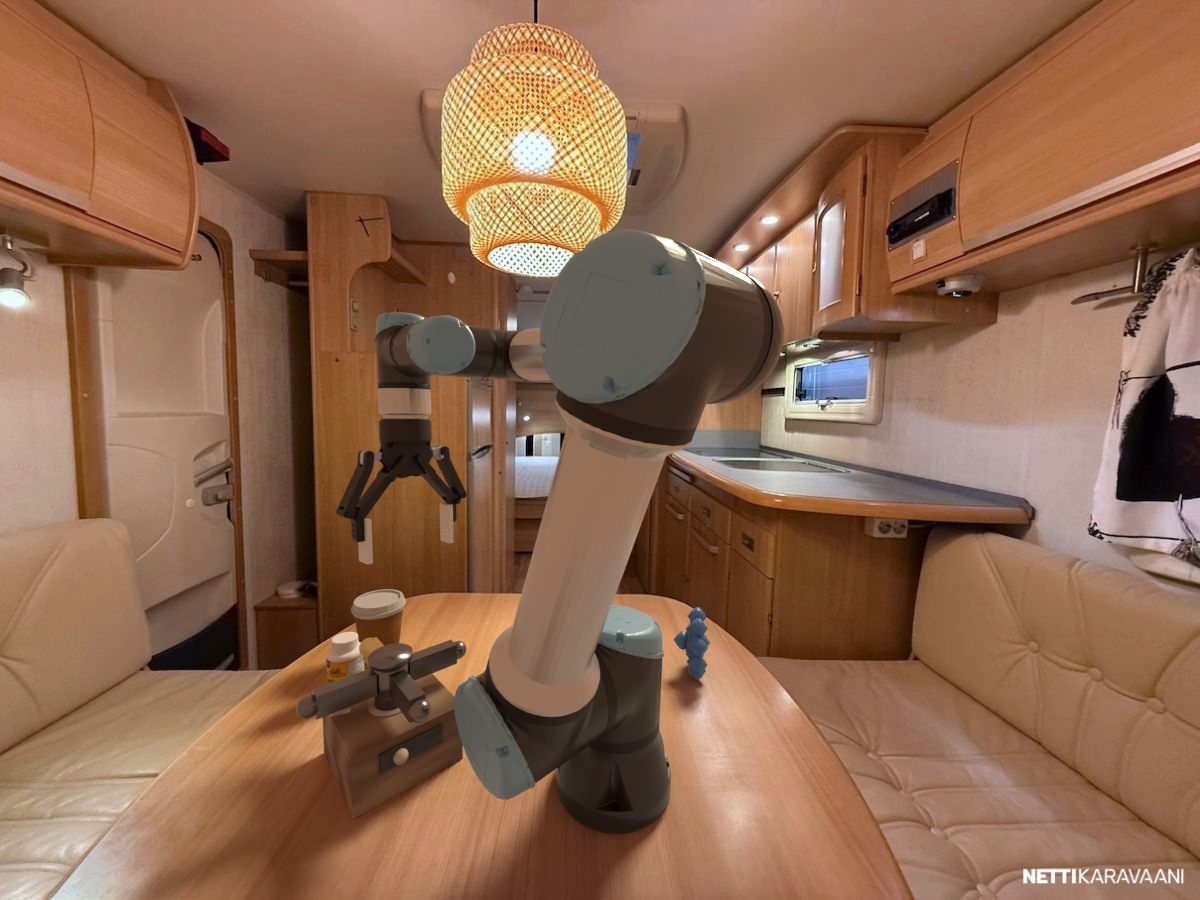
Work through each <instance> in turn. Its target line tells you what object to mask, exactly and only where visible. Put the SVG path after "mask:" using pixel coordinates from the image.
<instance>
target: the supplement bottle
mask: <svg viewBox="0 0 1200 900" xmlns="http://www.w3.org/2000/svg"><path fill="white" fill-rule="evenodd" d="M359 646H360V642H359V640H358V634H357V632H355V631H344V632H341V633H338V634H337V635H334V636H333V637H332V638H331V640H330V648H329V649H328V650H327V651H326V655H325V656H326V657H325V658H326V659H325V662H326V666H325V667H326V684H328V683H331V682H334V681H337V680H339V679H342V678H345V677H348V676H351V675H353V674H356V673H359V672H362V671H365V664H364V661H363V655H362V654H361V653H360V651H359Z"/></svg>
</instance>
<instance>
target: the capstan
mask: <svg viewBox="0 0 1200 900" xmlns="http://www.w3.org/2000/svg"><path fill="white" fill-rule="evenodd" d="M413 650H414V649H413V647H412V646H411V645H409V644H407V643H400V642H399V643H395V644H389V645H385V646H384V645H383V644H382V643H381V642H380V640H379V639H378V638H377V637H375V638H366V639H364V640H363V641H362V642H361V643H360V646H359V651H360V653H361V654H362V655H363V661H364V662H365V664H366V665H365V664H364V665H365V666H367V667H368V668H367V669H364V671H362V672H359V673H356V674H353V675H351V676H348V677H345V678H342V679H339V680H337V681H334V682H331V683H328V684H327V683H326V684H323V685H320V686H317V687H315V688H312V689H311V694H307V695H305V696H303V697H302V698H301V699H300V700H299V701H298V702H297V704H296V707H295V711H296V715H297V716H298V718H301V719H303V720H304V719H306V720H307V719H312V717H315V720H320V719H323V717H325V716H328V715H330V714H333V713H335V712H338V711H340V710H343V709H345V708H347V707H350V706H352V705H355V704H357V703H360V702H362V701H365V700H367V699H370V698H372V697H374V706H375V708H376V709H378V710H381V711H390V710H394V709H397V708H399V709H400V711H401V712H402V714H403V715H404V716H405V718H406V719H407V720H408V722H409V723H412V722H414V723H421V722H423V721H425V720H426V719H427V718H428V717H429V715H430V712H431V705H430V703H429V702H428V701H427V700H426V693H425V692H424V691H423V690H422V689H421V688H420V687H419V685H418V684H417V683H416V682H415V680H417V679H420V678H422V677H425V676H427V675H430V674H435V673H437V672H440V671H442V670H445V669H447V668H449V667H451V666H454V665H457V664H458V660H460V659H462V658H463V657H464V656H465V655H466V653H467V645H466V643H465V642H463V641H461V640H456V641H454V640H453V639H448V640H446V641H443V642H441V643H437V644H435V645H432V646H428V647H426V648H424V649H420V650H417V651H415V652H414V651H413Z"/></svg>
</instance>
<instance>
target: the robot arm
mask: <svg viewBox="0 0 1200 900" xmlns="http://www.w3.org/2000/svg"><path fill="white" fill-rule="evenodd" d="M375 322H376V323H375V334H374V342H375V347H376V348H375V349H376V350H375V351H376V373H377V401H378V402H377V403H378V414H379V415H380V416H382V418H380V419H379V421H378V435H379V444H380V447H379V450H378V451H372V450H364V449H361V450H359V451H358V453H357V460H356V461H357V463H356V467H355V469H354V471H353V474H352V476H351V477H350V480H349V482H348V485H347V487H346V489H345V490H344V491H345V492H344V493H343V495H342V498H341V499H340V502H339V504H338V507H337V508H336V511H335V514H336V516H338V517H340V518H341V517H342V518H345V519H349V520H350V522H351V527H350V528H351V539H352V541H353V542H355V543H357V544H358V546H357V547H358V548H357V549H358V562H360V563H363V564H365V565H366V566H367V565H372V564H374V554H373V552H374V550H373V526H372V523H373V522H372V519H370V518H367V516H368V515H369V514H370V512H371V511H372V509H373V508H374V506H375V505H376V504H377V503H378V501H379V500H380V498H382V496H383V495H384V493H385V492H386V490H387V489H388V488H389V486H390V485H391V483H393V482H395V480H396V479H397V478H398V479H405V478H409V477H414V478H415V477H420V476H421V477H422V478H423V479H424V480H425V482H427V483H428V484H429V486H430V487H431V488H432V489H433V490H434V492H436V494H437V495H438V496H439V497H440V498H441V499H442V500H443V501H444V502H441V503H439V534H440V536H439V537H440V542H444V543H447V544H454V542H455V541H454V523H455V522H457V518H458V517H457V514H458V513H457V505H459V504H460V503H461V501H462V500H461V499H465V498H467V495H468V494H467V491H466V489H465V487H464V484H463V483H462V481H461V479H460V477H459V474H458V472H457V471H456V469H455V466H454V464H453V462H452V459H451V454H450V453H451V452H450V448H449V447H448V446H446V445H436V446H434V447H432V445H431V443H432V440H433V431H432V430H433V428H432V421H431V419H430V418H428V416H431V414H432V395H431V392H432V391H431V388H432V387H431V376H441V377H442V376H444V377H457V378H472V379H473V378H474V379H489V380H491V379H493V380H502V381H503V380H504V381H513V382H514V381H516V382H524V383H526V382H527V383H528V382H537V381H551V383H552V384H553V385H554V386H555V387H556V388H557V391H556V395H555V398H554V404H555V406H556V407H555V408H557V410H558V411H559V413H560V415H561V416H562V418H563V420H564V421H565V423H566V424H567V425H566V430H565V433H564V437H563V441H562V443H561V449H560V451H559V455H558V459H557V462H556V467H555V470H554V473H553V477H552V481H551V484H550V488H549V492H548V495H547V499H546V504H545V507H544V511H543V514H542V517H541V520H540V521H541V522H540V526H539V528H538V532H537V536H536V540H535V544H534V547H533V551H532V554H531V559H530V561H529V565H528V570H527V573H526V576H525V581H524V584H523V588H522V591H521V595H520V599H519V602H518V606H517V610H516V613H515V617H514V621H513V624H512V626H509V627H507V628H506V629H505V630H503V632H502V633H500V635H499V636H497V638H496V639H495V641H494V642H493V644H492V646H491V648H490V652H489V655H488V659H487V662H486V668H485V670H484V671H483V672H482V673H480V674H478V675H476V676H474V675H471V676H469V677H468V678H467V679H466V680H464V681H462V683H460V684H459V685H458V686H457V688H456V689H455V693H454V711H455V718H456V723H457V728H458V732H459V735H460V739H461V742H462V745H463V751H464V752H465V755H466V757H467V759H468V762H469V764H470V767H471V768H472V770H473V772H474V773H475V776H476V777H477V779H478V780H479V782H480V783H481V784H482V786H483V787H484V788H485V790H486V791H488V793H489V794H491V795H492V796H494V797H495V798H496V799H499V800H501V801H502V800H504V801H506V800H511V799H513V798H515V797H517V796H519V795H520V794H523V793H524V792H525V791H528V790H531V789H532V790H533V789H534V788H535V787H536V784H537V783H539V782H540V781H541V780H542V779H544V778H546V777H547V776H548V775H549V774H551V773H552V772H555V770H556V790H557V794H558V798H559V800H560V803H561V804H562V806H563V807H564V809H565V810H566V811H567V812H568V814H569V815H570V816H571V817H573V819H575V820H576V821H577V822H578V823H580V824H582V825H584V826H585V827H588V828H590V829H593V830H595V831H599V832H603V833H609V834H623V833H624V834H626V833H631V832H636V831H639V830H642V829H644V828H645V827H647V826H649V825H651V824H652V823H653V822H654V821H656V820H657V819H658V818H659V817H660V816H661V814H663V813H664V811H665V809H666V807H667V805H668V804H669V800H670V798H671V797H670V796H671V790H672V789H671V788H672V787H671V785H672V771H671V765H670V760H669V758H668V755H667V753H666V751H665V746H664V745H665V744H664V741H663V737H662V733H661V730H660V721H661V719H660V718H661V699H662V698H661V697H662V674H663V658H664V655H665V652H664V650H663V647H664V645H663V632H662V629H661V627H660V625H659V623H658V622H657V621H656V620H655V618H653V617H651V616H650V615H649V614H647V613H645V612H643V611H641V610H638V609H636V608H632V607H629V606H625V605H619V604H613V603H614V600H615V598H616V594H617V592H618V590H619V586H620V583H621V581H622V577H623V576H624V572H625V570H626V567H627V565H628V562H629V558H630V557H631V553H632V551H633V548H634V545H635V542H636V539H637V536H638V534H639V531H640V528H641V526H642V523H643V520H644V518H645V515H646V512H647V510H648V507H649V504H650V501H651V499H652V495H653V492H654V490H655V488H656V484H657V482H658V479H659V476H660V473H661V471H662V468H663V466H664V463H665V460H666V458H667V456H669V455H671V454H674V453H676V452H678V451H681V450H683V449H686V448H688V447H689V446H690V445H691V443H692V441H693V438H694V436H695V433H696V431H697V427H698V426H699V423H700V421H701V418H702V415H703V414H704V411H705V408H706V405H713V404H714V405H716V404H725V403H729V402H732V401H736V400H738V399H741V398H743V397H745V396H747V395H749V394H751V393H752V392H754V391H755V390H756V389H757V388H759V387H761V386H762V384H763V383H764V382H765V380H767V379H768V377H769V376H771V374H772V373H773V371H774V369H775V367H776V366H777V364H778V362H779V359H780V357H781V354H782V351H783V346H784V342H785V341H784V339H785V325H784V321H783V315H782V312H781V309H780V307H779V305H778V303H777V301H776V299H775V297H774V296H773V295H772V293H771V292H770V290H769V289H768V288H767V287H766V286H764V285H763V284H762V283H761V282H760V281H758V279H756V278H754V277H752V276H750V275H749V274H746V273H745V272H742V271H740V270H737V269H734V268H732V267H730V266H728V265H726V264H724V263H722V262H721V261H718V260H716V259H714V258H712V257H710V256H708V255H706V254H704V253H703V252H700V251H698V250H696V249H694V248H692V247H690V246H689V245H687V244H685V243H684V242H682V241H676V240H674V239H672V238H670V237H663V236H660V235H657V234H653V233H650V232H647V231H643V230H639V229H638V230H637V229H632V228H631V229H629V228H628V229H627V228H626V229H617V230H613V231H609V232H606V233H604V234H603V233H602V235H599V236H596V237H595V238H593V239H591V240H590V241H589V242H588V243H587V244H586V245H585V246H584V248H583V249H582V250H580V251H577V252H575V253H574V254H573V255H572V256H571V257H570V258H569V260H568V261H567V262H566V263H565V265H563V267H562V269H561V270H560V272H559V273H558V274H557V277H556V278H555V280H554V282H553V284H552V287H550V291H549V293H548V295H547V298H546V301H545V304H544V307H543V311H542V316H541V320H540V327H534V328H526V329H518V330H506V329H505V330H504V329H496V328H489V327H483V326H478V325H471V324H466V323H465V322H463V321H462V320H460V319H459V318H457V317H455V316H452V315H448V314H446V315H445V314H442V315H430V316H429V317H425V316H423V315H420V314H416V313H411V312H403V311H402V312H401V311H392V312H383V313H381V314H379V315H378V316H377V318H376V320H375ZM432 459H434V460H435V461H436V464H437V466H438V468H439V470H440V472H441V473H442V477H443V478H444V480H445V482H444V480H443V479H442V478H441V477H440V476H439V475H438V474H437V471H436V469H435V468H434V467H433V466H432V464H431V463H430V462H431V460H432ZM378 461H379V462H380V463H381V465H382V467H381V468H380V469H379V471H378V472H377V473H376V477H375V479H374V480H373V481H372V482H371V484H370V485H369V486H368V487H367V489H366V490H365V488H366V486H367V483H368V481H369V479H370V476H371V475H372V472H373V469H374V467H375V466H376V465H377V464H378ZM364 490H365V492H364ZM363 492H364V493H363Z"/></svg>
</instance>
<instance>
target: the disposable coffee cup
mask: <svg viewBox="0 0 1200 900" xmlns="http://www.w3.org/2000/svg"><path fill="white" fill-rule="evenodd" d="M406 603H407V600H406V598H405V595H404V593H403V592H402V591H400V590H398V589H392V588H389V589H388V588H384V589H376V590H372V591H368V592H364V593H363V594H361V595H358V596H357V597H356V598H355V599H354V600H353V604H352V605H351V607H350V612H351V613H352V615H353V616H354V622H355V628H356V633H357V634H358V640H359V641H358V642H360V643H361V642H362V641H363V640H364V639H366V638H375V637H377V638H378V639H379V640H380V642H381V643H382V644H383V645H384V646H385V645H389V644H395V643H400V640H401V632H402V623H403V622H402V620H403V614H404V608H405V605H406ZM364 666H367V665H366V664H365V662H364Z"/></svg>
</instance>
